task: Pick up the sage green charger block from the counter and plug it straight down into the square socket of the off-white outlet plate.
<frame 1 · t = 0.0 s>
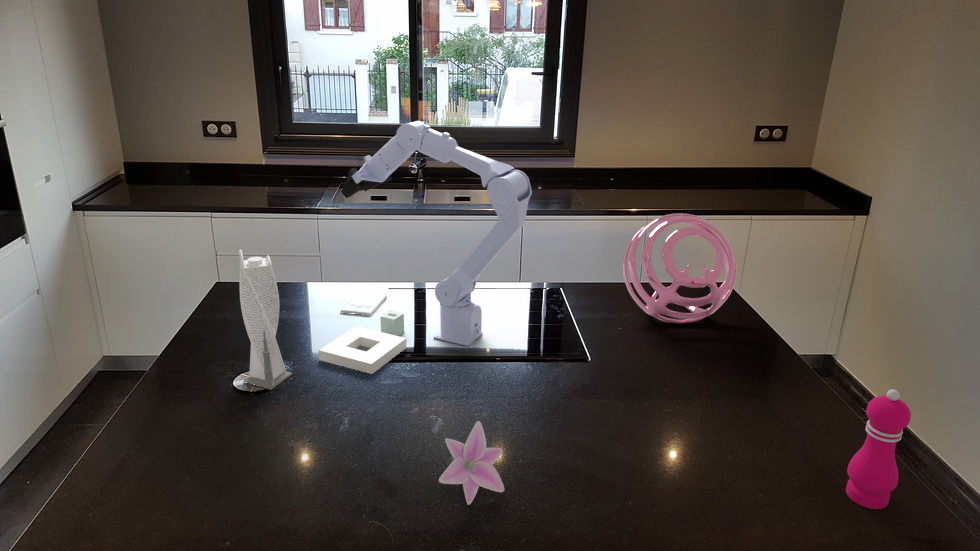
hand: (353, 191, 166), 32 cm above the countertop, tool tilted 50°, fingers open, 7 cm apart
external hard drive: (364, 308, 183), on the countertop
charger: (392, 333, 167), on the countertop
pepper mill: (866, 497, 113), on the countertop
skyscraper: (267, 377, 146), on the countertop
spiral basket: (673, 317, 179), on the countertop
outlet plate: (363, 353, 156), on the countertop
lily: (471, 488, 113), on the countertop
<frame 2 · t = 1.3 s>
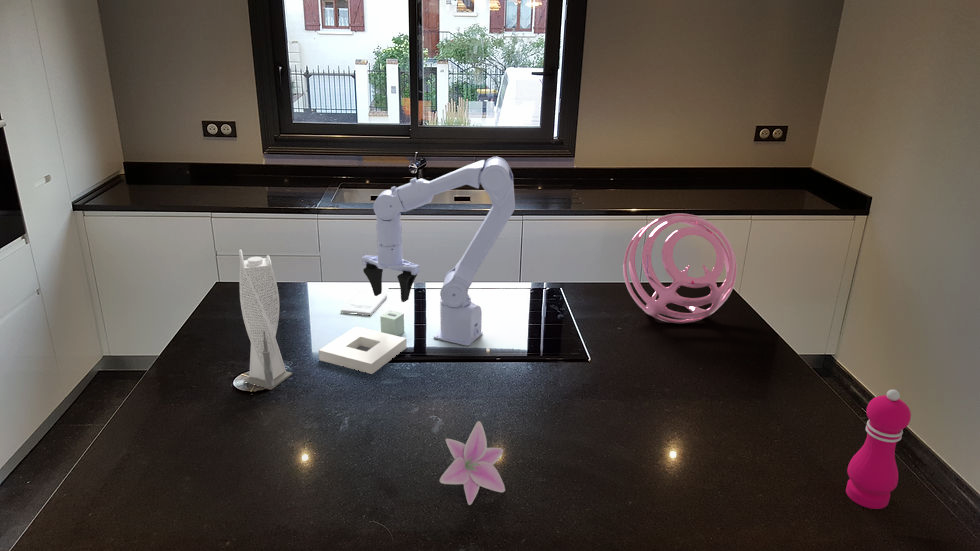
hand: (391, 297, 163), 9 cm above the countertop, tool pointing down, fingers open, 7 cm apart
nothing on the countertop moved.
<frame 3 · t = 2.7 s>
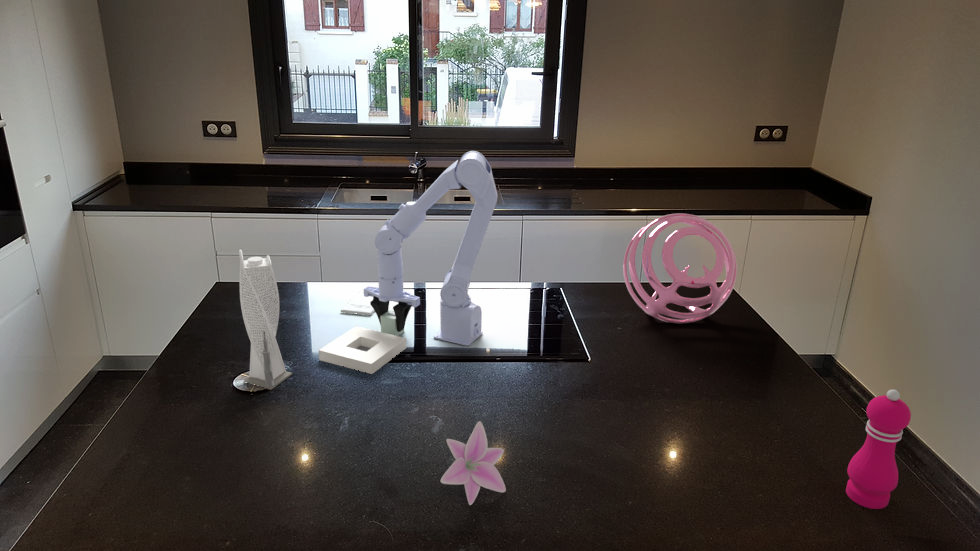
hand: (392, 328, 166), 1 cm above the countertop, tool pointing down, fingers closed on charger, 4 cm apart
charger: (392, 333, 167), on the countertop, touching gripper
everything else where it was.
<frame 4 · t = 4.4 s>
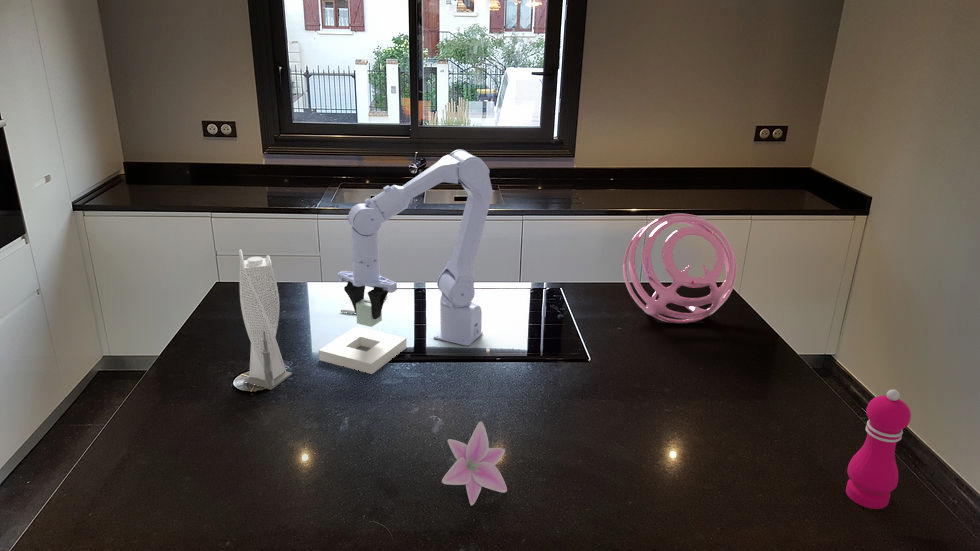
hand: (368, 315, 156), 9 cm above the countertop, tool pointing down, fingers closed on charger, 4 cm apart
charger: (369, 321, 156), point 7 cm above the countertop, touching gripper
everything else where it was.
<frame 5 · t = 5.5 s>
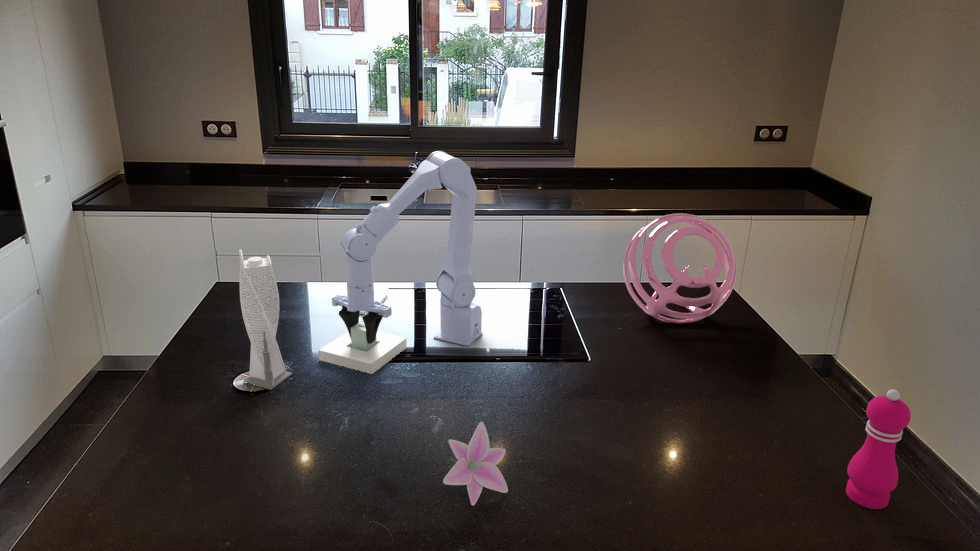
hand: (363, 339, 155), 4 cm above the countertop, tool pointing down, fingers closed on charger, 4 cm apart
charger: (364, 346, 156), point 2 cm above the countertop, touching gripper
everything else where it was.
when the fingers open (3 cm above the countertop, at t = 6.1 s): charger stays where it is, resting on outlet plate.
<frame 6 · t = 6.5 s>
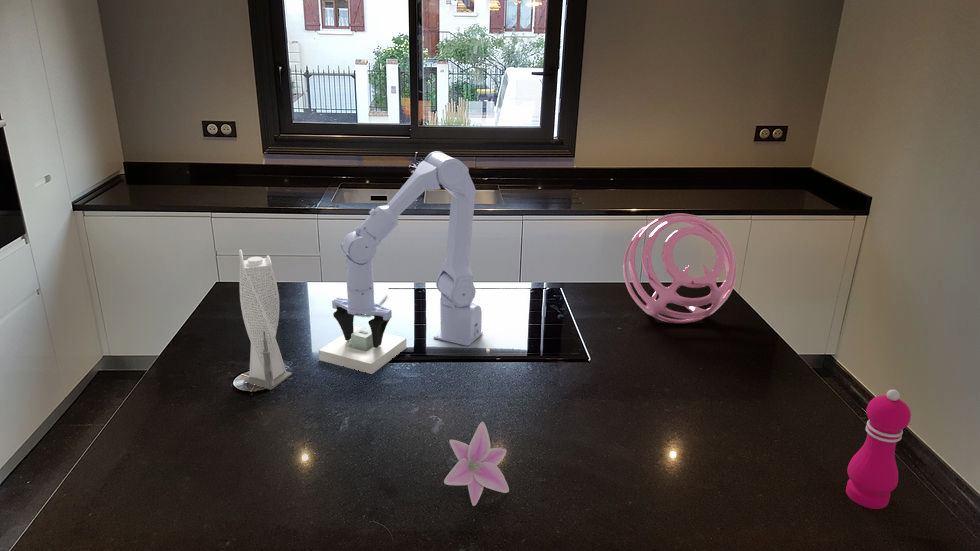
hand: (363, 342, 155), 3 cm above the countertop, tool pointing down, fingers open, 7 cm apart
charger: (364, 352, 157), resting on outlet plate
everything else where it was.
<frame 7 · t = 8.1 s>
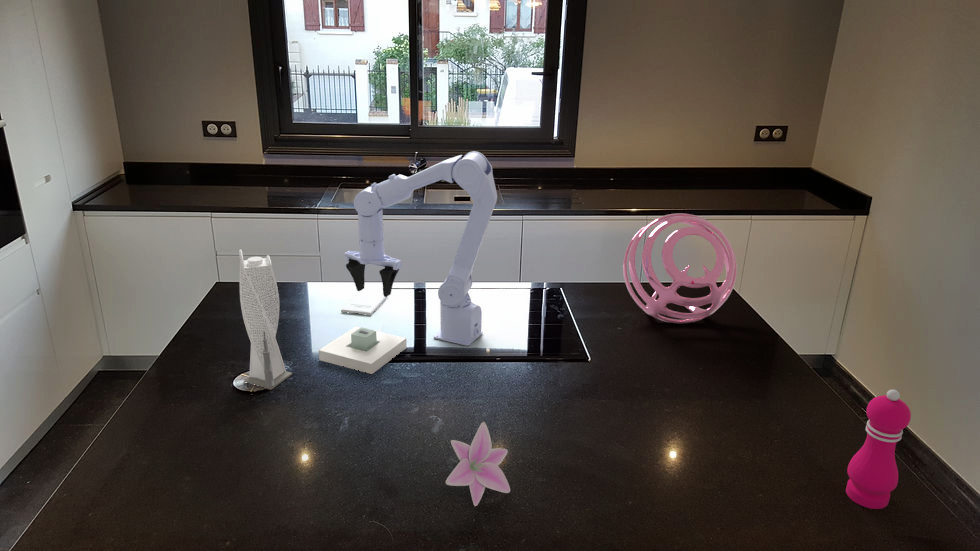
hand: (373, 292, 166), 9 cm above the countertop, tool pointing down, fingers open, 7 cm apart
nothing on the countertop moved.
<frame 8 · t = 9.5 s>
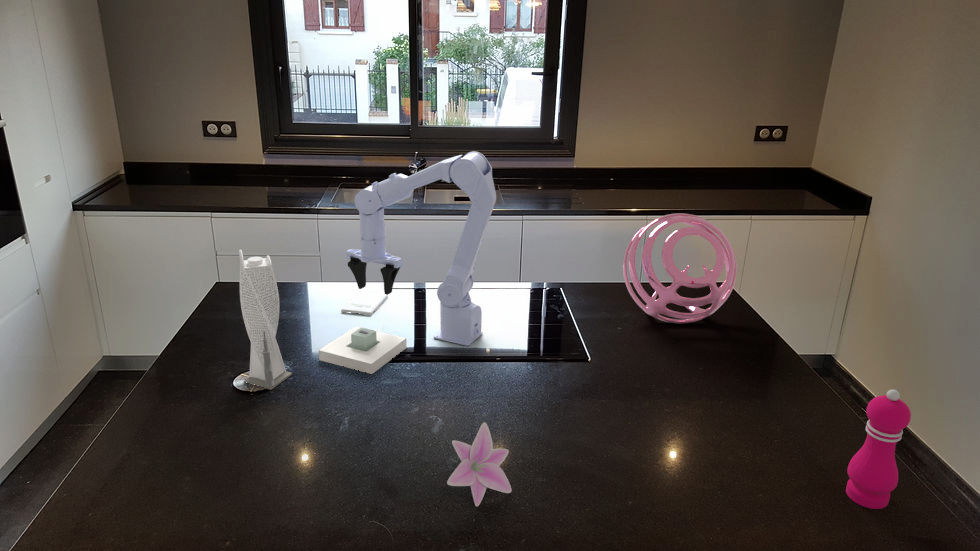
hand: (375, 290, 167), 9 cm above the countertop, tool pointing down, fingers open, 7 cm apart
at the end: charger 0.3 cm off-centre on the outlet plate, point 0.2 cm above the outlet plate's base; charger tilted 0°; the gripper is holding nothing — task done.
